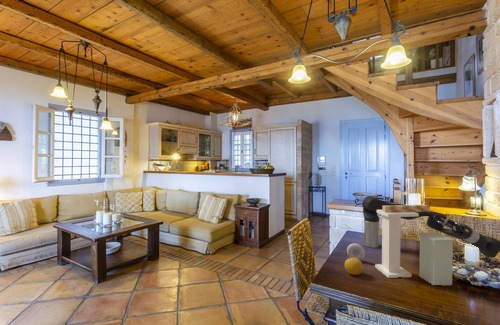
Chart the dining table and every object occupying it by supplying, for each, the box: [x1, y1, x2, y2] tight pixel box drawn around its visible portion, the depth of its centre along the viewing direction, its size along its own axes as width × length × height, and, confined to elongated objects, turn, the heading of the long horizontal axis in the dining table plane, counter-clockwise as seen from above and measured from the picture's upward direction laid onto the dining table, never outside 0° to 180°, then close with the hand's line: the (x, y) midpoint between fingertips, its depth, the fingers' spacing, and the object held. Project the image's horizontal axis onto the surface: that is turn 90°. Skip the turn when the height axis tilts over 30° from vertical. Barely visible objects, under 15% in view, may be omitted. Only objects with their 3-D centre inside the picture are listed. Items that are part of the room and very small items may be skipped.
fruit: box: [344, 257, 364, 276], centre depth 127 cm, size 9×8×8 cm
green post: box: [417, 232, 456, 286], centre depth 119 cm, size 10×10×22 cm
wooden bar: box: [382, 204, 431, 212], centre depth 128 cm, size 24×2×3 cm, turn 93°
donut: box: [346, 242, 366, 261], centre depth 143 cm, size 10×4×10 cm, turn 62°
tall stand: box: [374, 210, 419, 279], centre depth 128 cm, size 16×12×32 cm
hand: (440, 218), depth 129 cm, fingers open, 8 cm apart
